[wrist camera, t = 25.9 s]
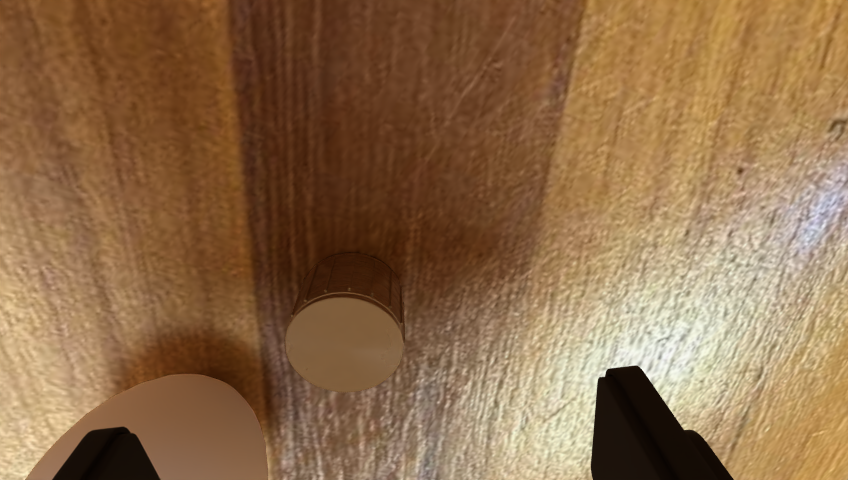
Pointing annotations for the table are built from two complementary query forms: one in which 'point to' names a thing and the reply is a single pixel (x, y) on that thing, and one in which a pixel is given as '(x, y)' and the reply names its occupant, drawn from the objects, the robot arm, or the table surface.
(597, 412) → the robot arm
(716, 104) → the table surface
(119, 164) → the table surface
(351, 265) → the cap
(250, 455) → the egg
